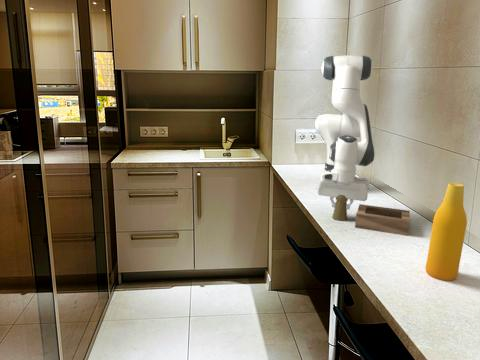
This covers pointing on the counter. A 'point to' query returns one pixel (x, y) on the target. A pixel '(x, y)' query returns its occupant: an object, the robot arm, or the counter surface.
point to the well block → (383, 219)
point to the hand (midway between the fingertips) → (340, 208)
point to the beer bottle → (447, 235)
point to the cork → (340, 208)
